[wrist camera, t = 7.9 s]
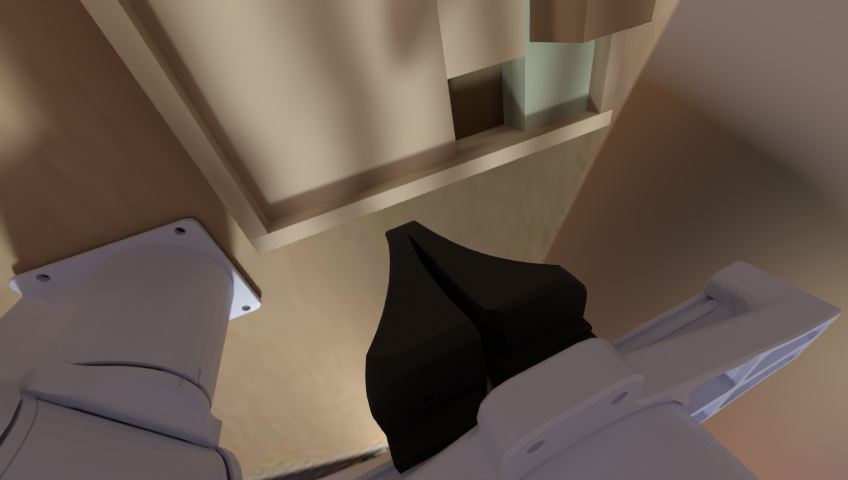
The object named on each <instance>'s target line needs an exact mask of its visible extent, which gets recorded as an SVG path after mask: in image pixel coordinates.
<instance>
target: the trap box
mask: <svg viewBox="0 0 848 480" xmlns="http://www.w3.org/2000/svg"><path fill="white" fill-rule="evenodd" d="M80 1H81V2H82V4H83V5H84V7H85V8H86V10H87V11H88V12H89V14H90V15H91V17H92V18H93V19H94V21H95V22H96V24H97V25H98V27H99V28H100V29H101V31H102V32H103V34H104V35H105V36H106V38H107V39H108V41H109V42H110V44H111V45H112V46H113V48H114V49H115V51H116V52H117V53H118V55H119V56H120V58H121V59H122V61H123V62H124V63H125V65H126V66H127V68H128V69H129V71H130V72H131V73H132V75H133V76H134V78H135V79H136V80H137V82H138V83H139V85H140V86H141V88H142V89H143V90H144V92H145V93H146V95H147V96H148V97H149V99H150V100H151V102H152V103H153V105H154V106H155V107H156V109H157V110H158V112H159V113H160V114H161V116H162V117H163V119H164V120H165V122H166V123H167V124H168V126H169V127H170V129H171V130H172V132H173V133H174V134H175V136H176V137H177V139H178V140H179V141H180V143H181V144H182V146H183V147H184V149H185V150H186V151H187V153H188V154H189V156H190V157H191V158H192V160H193V161H194V163H195V164H196V166H197V167H198V168H199V170H200V171H201V173H202V174H203V175H204V177H205V178H206V180H207V181H208V183H209V184H210V185H211V187H212V188H213V190H214V191H215V193H216V194H217V195H218V197H219V198H220V200H221V201H222V202H223V204H224V205H225V207H226V208H227V210H228V211H229V212H230V214H231V215H232V217H233V218H234V219H235V221H236V222H237V224H238V225H239V227H240V228H241V229H242V231H243V232H244V234H245V235H246V236H247V238H248V239H249V241H250V242H251V244H252V245H253V246H254V248H255V249H256V251H257V252H258V254H259V255H260V254H262V253H265V252H268V251H270V250H273V249H276V248H278V247H281V246H284V245H286V244H289V243H292V242H295V241H297V240H300V239H303V238H305V237H308V236H311V235H313V234H316V233H319V232H322V231H324V230H327V229H330V228H332V227H335V226H338V225H340V224H343V223H346V222H348V221H351V220H354V219H357V218H359V217H362V216H365V215H367V214H370V213H373V212H375V211H378V210H381V209H384V208H386V207H389V206H392V205H394V204H397V203H400V202H402V201H405V200H408V199H410V198H413V197H416V196H419V195H421V194H424V193H427V192H429V191H432V190H435V189H437V188H440V187H443V186H446V185H448V184H451V183H454V182H456V181H459V180H462V179H464V178H467V177H470V176H472V175H475V174H478V173H481V172H483V171H486V170H489V169H491V168H494V167H497V166H499V165H502V164H505V163H508V162H510V161H513V160H516V159H518V158H521V157H524V156H526V155H529V154H532V153H534V152H537V151H540V150H543V149H545V148H548V147H551V146H553V145H556V144H559V143H561V142H564V141H567V140H570V139H572V138H575V137H578V136H580V135H583V134H586V133H588V132H591V131H594V130H597V129H599V128H602V127H605V126H607V125H610V120H611V115H612V109H613V103H614V98H615V92H616V86H617V81H618V75H619V69H620V64H621V58H622V52H623V47H624V41H625V35H626V30H627V29H626V30H623V31H620V32H616V33H613V34H610V35H607V36H604V37H601V38H598V39H594V40H591V41H588V42H585V43H552V42H529V28H530V0H80ZM499 63H502V88H503V116H504V124H503V125H500V126H497V127H494V128H491V129H488V130H486V131H483V132H480V133H477V134H474V135H471V136H468V137H465V138H462V139H459V140H457V141H456V140H455V133H454V126H453V118H452V111H451V103H450V96H449V89H448V81H447V79H450V78H453V77H456V76H460V75H463V74H466V73H470V72H473V71H476V70H479V69H483V68H486V67H489V66H493V65H496V64H499Z"/></svg>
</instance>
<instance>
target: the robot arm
mask: <svg viewBox="0 0 848 480" xmlns="http://www.w3.org/2000/svg"><path fill="white" fill-rule="evenodd" d="M178 227H180V228H183V229H184V230H185V232H180V231H178V230H177V229H176V228H178ZM385 235H386V238H387V241H388V244H389V252H390V274H389V285H388V291H387V297H386V301H385V306H384V310H383V313H382V317H381V320H380V323H379V326H378V329H377V332H376V334H375V337H374V339H373V341H372V343H371V346H370V348H369V350H368V353H367V355H366V370H365V381H366V393H367V398H368V403H369V407H370V411H371V414H372V416H373V418H374V419H375V421H376V422H377V424H378V425H379V426H380V428H381V429H382V431H383V432H384V433H385V435H386V437H387V441H388V445H389V448H390V452H391V456H392V459H391V460H389V461H387V462H385V463H383V464H381V465H379V466H377V467H376V468H374V469H372V470H370V471H368V472H366V473H364V474H363V475H361V476H359V477H357V478H355V479H353V480H760V479H759V478H758V477H757V476H756V475H755V474H754V473H753V472H752V471H751V470H749V469H748V468H747V467H746V466H745V465H744V464H743V463H742V462H741V461H740V460H739V459H737V458H736V457H735V456H734V455H733V454H732V453H731V452H730V451H729V450H728V449H727V448H725V446H723V445H722V444H721V443H720V442H719V441H718V440H717V439H716V438H715V437H714V436H713V435H712V434H710V433H709V432H708V431H707V430H706V429H705V428H704V427H703V426H702V425H701V423H702V422H704V421H705V420H706V419H708V418H709V417H711V416H712V415H713V414H715V413H716V412H718V411H719V410H720V409H722V408H723V407H725V406H726V405H728V404H729V403H730V402H732V401H733V400H734V399H736V398H737V397H739V396H740V395H742V394H743V393H744V392H746V391H747V390H749V389H750V388H752V387H753V386H755V385H756V384H758V383H759V382H760V381H762V380H763V379H765V378H766V377H768V376H769V375H771V374H772V373H774V372H775V371H777V370H779V369H780V368H782V367H783V366H785V365H786V364H788V363H789V362H791V361H792V360H794V359H795V358H796V357H797V356H798V355H799V354H800V353H801V352H802V351H803V350H804V349H805V348H806V347H808V345H809V344H811V342H813V341H814V340H815V339H816V338H817V337H818V336H819V335H820V334H821V333H822V332H823V331H824V330H825V329H826V328H827V327H828V326H829V325H830V324H831V323H832V322H833V321H834V320H835V319H836V318H837V317H838V316H839V315H840V314H841V313H842V311H841V309H840V308H838V307H836V306H834V305H831V304H830V303H828V302H826V301H823V300H821V299H819V298H817V297H815V296H813V295H811V294H809V293H807V292H805V291H803V290H801V289H799V288H797V287H794V286H792V285H790V284H788V283H786V282H784V281H782V280H780V279H778V278H776V277H774V276H772V275H770V274H768V273H766V272H764V271H762V270H759V269H757V268H755V267H753V266H751V265H749V264H747V263H745V262H743V261H738V262H736V263H734V264H732V265H730V266H728V267H726V268H724V269H722V270H720V271H718V272H717V273H716V274H714V275H713V276H712V277H711V278H710V279H709V280H708V281H707V283H706V285H705V287H704V290H703V292H702V293H700V294H699V295H697V296H695V297H693V298H691V299H689V300H688V301H685V302H684V303H682V304H680V305H678V306H676V307H674V308H672V309H671V310H669V311H667V312H665V313H663V314H661V315H659V316H657V317H656V318H654V319H652V320H650V321H648V322H646V323H644V324H643V325H641V326H639V327H637V328H635V329H633V330H631V331H630V332H628V333H626V334H624V335H622V336H620V337H618V338H617V339H615V340H613V341H611V342H607V341H606V340H603V339H599V338H597V337H596V336H595V335H594V334H593V333H592V332H591V330H592V326H591V325H590V324H589V323H588V322H587V321H586V320H585V319H584V318H583V315H584V310H585V305H586V299H587V290H586V288H585V286H584V285H583V284H582V283H581V282H580V281H579V280H577V279H576V278H575V277H574V276H573V275H572V274H570V273H569V272H568V271H566V270H565V269H563V268H562V267H561V266H559V265H549V264H536V263H527V262H520V261H513V260H508V259H503V258H499V257H494V256H490V255H487V254H483V253H480V252H477V251H474V250H471V249H468V248H465V247H463V246H461V245H458V244H456V243H454V242H452V241H450V240H448V239H446V238H444V237H442V236H440V235H438V234H436V233H434V232H433V231H431V230H429V229H428V228H426V227H424V226H423V225H421V224H419V223H418V222H416V221H411V222H409V223H406V224H404V225H401V226H399V227H396V228H394V229H391V230H389V231H387V232H386V234H385ZM41 274H44V275H47V276H49V277H50V278H48V277H44V276H42V275H41ZM9 286H10V287H11V288H12V289H14V290H15V291H17V292H18V293H20V294H21V295H23V297H22V298H21V299H20V300H19V301H18V302H17V303H16V304H15V305H14V306H13V307H12V308H11V309H10V310H9V311H8V312H7V313H6V314H5V315H4V316H3V317H2V318H1V319H0V480H243V477H242V471H241V467H240V464H239V462H238V459H237V458H236V457H235V455H234V454H233V453H232V452H230V451H229V450H227V449H225V448H222V447H218V444H219V438H220V432H221V426H222V421H221V420H219V419H217V418H215V417H214V416H213V415H212V413H211V406H212V401H213V396H214V391H215V386H216V382H217V377H218V372H219V367H220V362H221V357H222V352H223V347H224V342H225V337H226V332H227V327H228V322H229V320H231V319H234V318H236V317H239V316H241V315H244V314H246V313H249V312H251V311H254V310H256V309H258V308H260V306H261V299H260V298H259V297H258V296H257V294H256V293H255V292H254V291H253V289H252V288H251V287H250V286H249V284H248V283H247V282H246V280H245V279H244V278H243V277H242V275H241V274H240V273H239V272H238V270H237V269H236V268H235V267H234V265H233V264H232V263H231V262H230V260H229V259H228V258H227V257H226V255H225V254H224V253H223V252H222V250H221V249H220V248H219V247H218V245H217V244H216V243H215V242H214V240H213V239H212V238H211V237H210V235H209V234H208V233H207V232H206V230H205V229H204V228H203V227H202V225H201V224H200V223H199V222H198V221H197V220H195V219H193V218H185V219H182V220H179V221H176V222H173V223H170V224H167V225H164V226H161V227H158V228H155V229H152V230H149V231H146V232H143V233H140V234H137V235H134V236H131V237H128V238H125V239H122V240H119V241H116V242H113V243H111V244H108V245H105V246H102V247H99V248H96V249H93V250H90V251H87V252H84V253H81V254H78V255H75V256H72V257H69V258H66V259H63V260H60V261H57V262H54V263H51V264H48V265H45V266H42V267H39V268H36V269H33V270H30V271H27V272H24V273H21V274H18V275H16V276H14V277H13V278H12V279H11V280H10V281H9ZM245 305H248V306H249V307H244V306H245Z"/></svg>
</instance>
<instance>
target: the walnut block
mask: <svg viewBox="0 0 848 480" xmlns="http://www.w3.org/2000/svg"><path fill="white" fill-rule="evenodd" d="M655 1H656V0H530V28H529V42H552V43H585V42H588V41H591V40H594V39H598V38H601V37H604V36H607V35H610V34H613V33H616V32H620V31H623V30H626V29H629V28H632V27H635V26H639V25H642V24H645V23H648V22H651V20H652V15H653V10H654V6H655Z"/></svg>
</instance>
